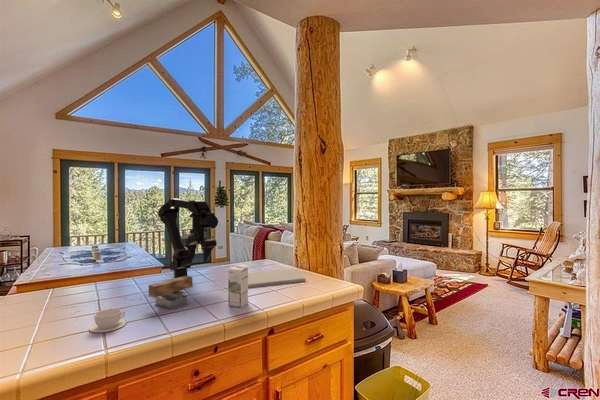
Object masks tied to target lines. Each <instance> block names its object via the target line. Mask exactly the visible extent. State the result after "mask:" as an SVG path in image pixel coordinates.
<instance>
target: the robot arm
mask: <svg viewBox="0 0 600 400" xmlns="http://www.w3.org/2000/svg"><path fill="white" fill-rule="evenodd" d="M180 208H181V209H186V210H188V211H189V212H191V214H190V215H189V218H192V219H191V229H190V230H189V233H186V234H184V235H183V236H181V233H180V230H179V228H178V224H177V219H178V213H179V212H180ZM157 215H158V217H159V220H160V221H161V222H162V224H164V225H165V227H166V230H167V233H168V236H169V239H170V243H171V246H172V249H173V253H172V254H173V255H172V261H171V263H170V264H169V266H168V267H169V270H170V271H173V279H175V278H179V277H183V276H188V269H191V267H192V264H193V260H194V259H195V256H196V251H197V246H198V245H200V246H201V247H200V249H201V250H202V254H203V262H204V263H205V262H207V261H208V259H209V257H210V255H211V252H213V250H214V248H216V247H217V245H218V242H217V240H216V239H211V238H209V239H208V237H206V232H208V229H214V228H217V226H218V225H219V220H218V217H217V216H216V214H215V212H212V211H211V208H210V207H209V205H208V203H207V201H206V200H205V199H203V200H201V199H198V200H197V199H193V200H187V199H182V198H179V197H178V198H170V199H169V200H168V201H167V202H166V203H164V204H162V205H161V206H160V208H159V209H158V211H157Z"/></svg>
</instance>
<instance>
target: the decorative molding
mask: <svg viewBox="0 0 600 400" xmlns="http://www.w3.org/2000/svg"><path fill="white" fill-rule="evenodd" d="M300 281H301V282H305V281H306V277H305V275H304V274H303V273H302V271H301V270H300V269H299V268H292V269H291V268H290V269H280V270H270V271H269V270H267V271H258V272H248V288H256V287H265V286H273V285H280V284H281V285H282V284H283V285H284V284H289V283H290V284H291V283H299V282H300Z"/></svg>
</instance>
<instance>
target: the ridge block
mask: <svg viewBox="0 0 600 400" xmlns="http://www.w3.org/2000/svg"><path fill="white" fill-rule="evenodd" d="M155 305H158V306H161V307H162V308H166V309H169V310H173V309H175V308H179V307H182V306H186V305H188V295H185V294H184V292H182V291H181V290H180V291H176V292H173V293H169V294H166V295H162V296H159V297H155Z"/></svg>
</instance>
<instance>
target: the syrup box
mask: <svg viewBox="0 0 600 400" xmlns="http://www.w3.org/2000/svg"><path fill="white" fill-rule="evenodd" d="M227 270H228V271H227V274H228V278H227V280H228V281H227V282H228V283H227V284H228V296H227V297H228V300H227V301H228V307H233V308H243V307H244V306H247V304H248V303H249V287H248V273H249V267H248V266H246V265H245V266H243V265H233V266H231V267H229V268H228V269H227Z"/></svg>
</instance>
